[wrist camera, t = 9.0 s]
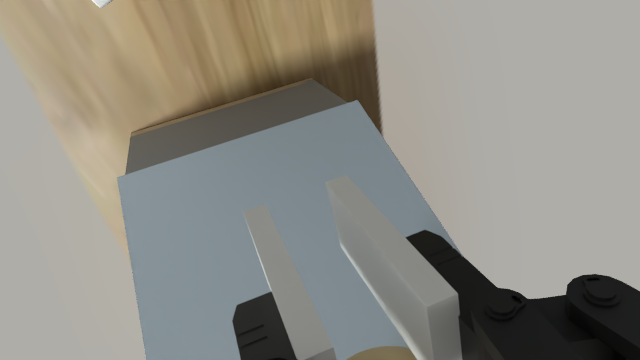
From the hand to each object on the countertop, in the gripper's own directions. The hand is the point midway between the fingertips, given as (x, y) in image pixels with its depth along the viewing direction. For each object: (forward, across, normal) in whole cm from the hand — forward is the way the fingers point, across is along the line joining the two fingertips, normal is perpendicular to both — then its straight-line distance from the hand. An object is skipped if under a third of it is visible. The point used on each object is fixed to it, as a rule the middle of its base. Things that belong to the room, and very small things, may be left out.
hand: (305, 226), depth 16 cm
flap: (+6, 0, -7) cm, 9 cm away
